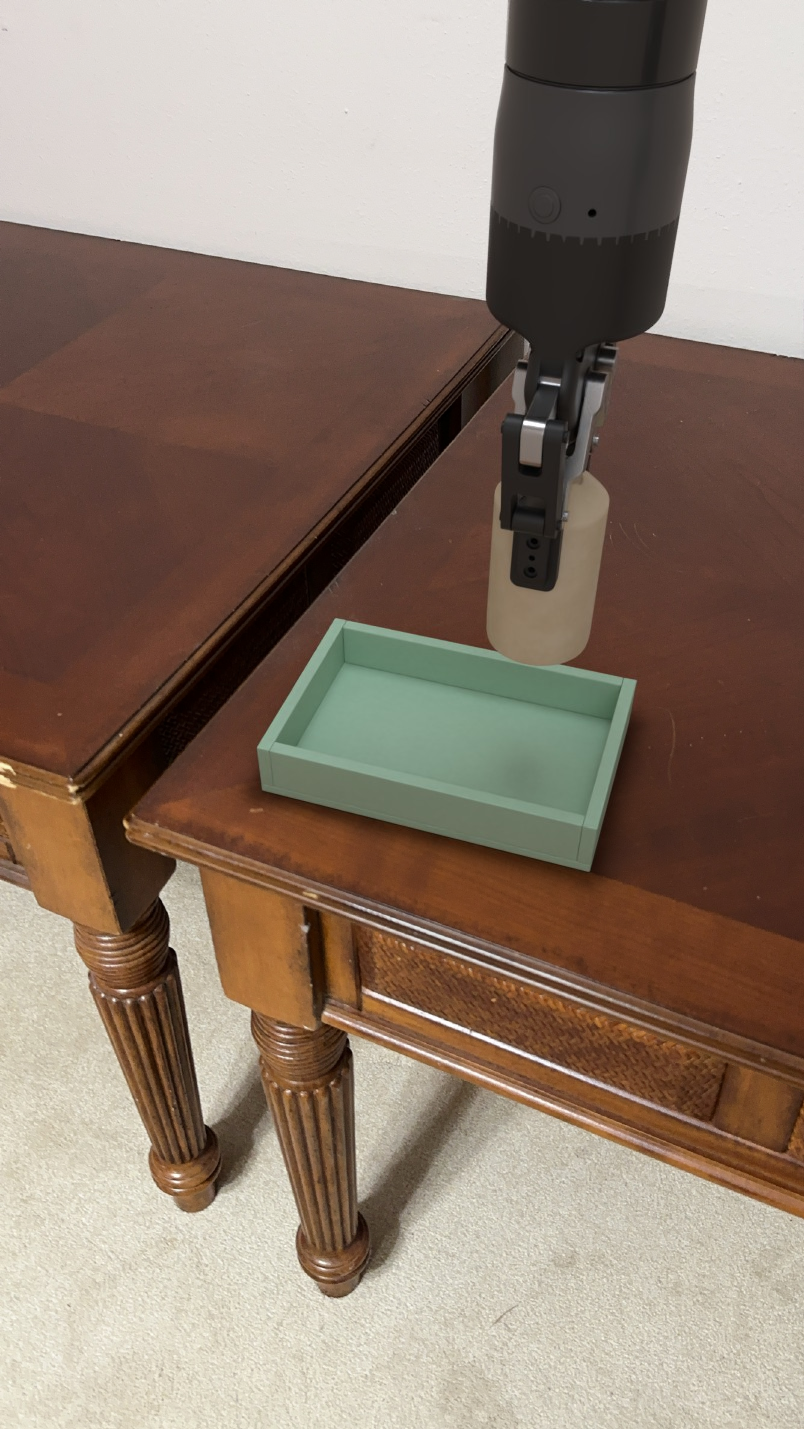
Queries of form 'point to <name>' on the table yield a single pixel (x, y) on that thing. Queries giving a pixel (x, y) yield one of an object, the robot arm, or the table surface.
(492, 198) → the robot arm
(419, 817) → the tray
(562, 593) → the candle
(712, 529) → the table surface
